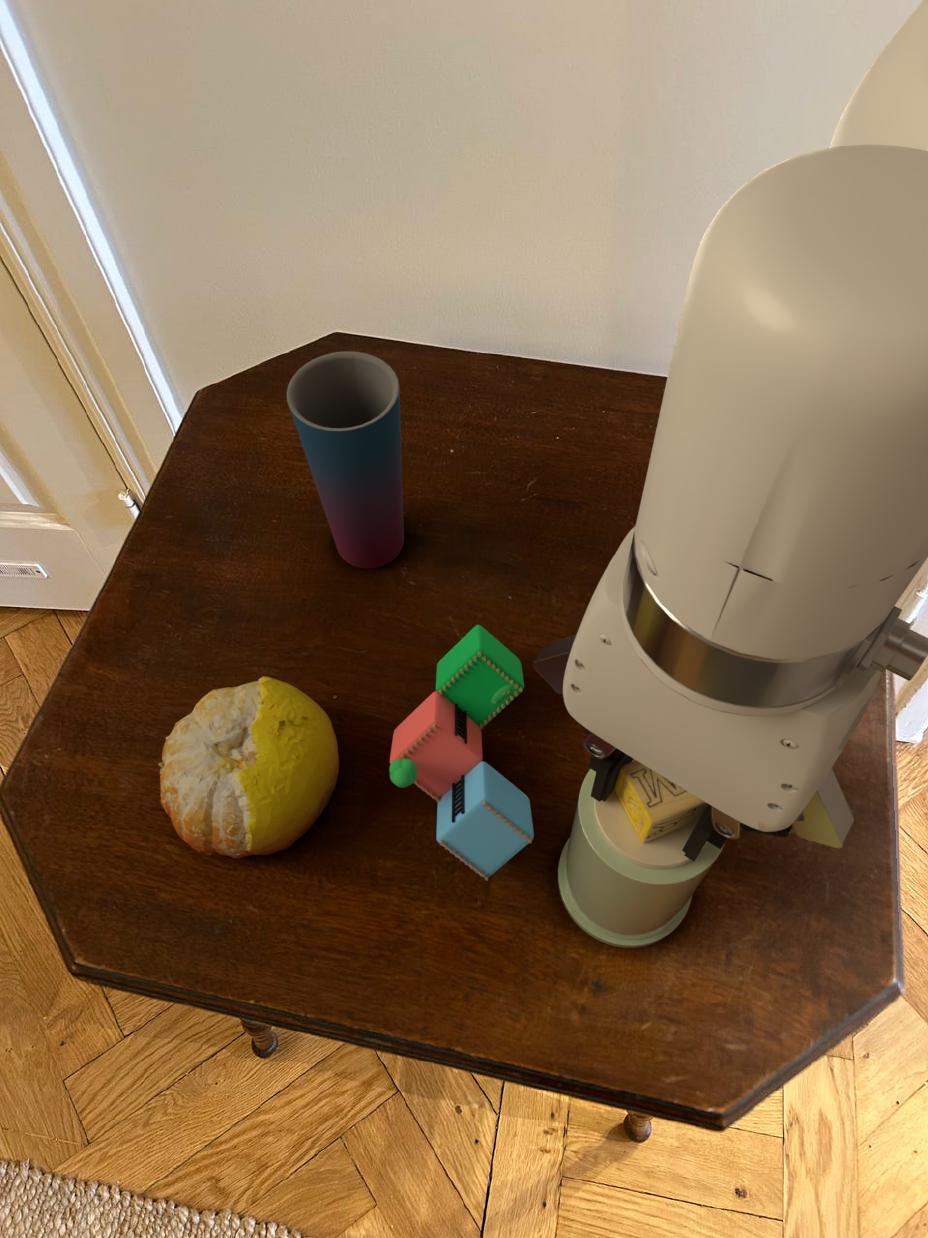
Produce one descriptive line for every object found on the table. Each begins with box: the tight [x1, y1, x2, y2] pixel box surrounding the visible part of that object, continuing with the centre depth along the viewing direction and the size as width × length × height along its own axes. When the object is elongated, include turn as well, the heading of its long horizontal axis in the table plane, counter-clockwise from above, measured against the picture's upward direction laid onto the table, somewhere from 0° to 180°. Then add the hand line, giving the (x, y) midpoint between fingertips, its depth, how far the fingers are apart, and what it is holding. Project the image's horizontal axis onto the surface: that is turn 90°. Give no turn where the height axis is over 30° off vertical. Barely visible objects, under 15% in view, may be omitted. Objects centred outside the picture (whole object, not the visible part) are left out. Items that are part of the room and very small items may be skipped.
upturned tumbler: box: [557, 759, 726, 949], centre depth 48 cm, size 8×8×12 cm
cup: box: [286, 351, 405, 569], centre depth 61 cm, size 7×7×15 cm
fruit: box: [157, 675, 340, 859], centre depth 55 cm, size 11×10×8 cm
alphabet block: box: [614, 760, 708, 843], centre depth 42 cm, size 3×3×3 cm
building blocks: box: [388, 624, 535, 882], centre depth 54 cm, size 8×8×12 cm
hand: (657, 802), depth 43 cm, fingers closed on alphabet block, 4 cm apart
